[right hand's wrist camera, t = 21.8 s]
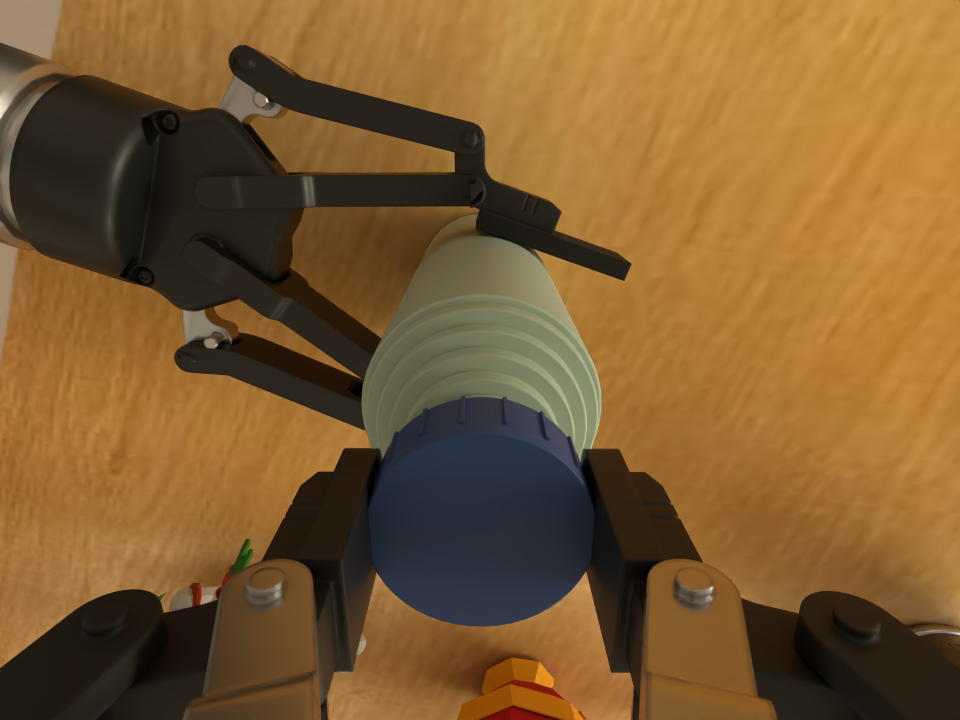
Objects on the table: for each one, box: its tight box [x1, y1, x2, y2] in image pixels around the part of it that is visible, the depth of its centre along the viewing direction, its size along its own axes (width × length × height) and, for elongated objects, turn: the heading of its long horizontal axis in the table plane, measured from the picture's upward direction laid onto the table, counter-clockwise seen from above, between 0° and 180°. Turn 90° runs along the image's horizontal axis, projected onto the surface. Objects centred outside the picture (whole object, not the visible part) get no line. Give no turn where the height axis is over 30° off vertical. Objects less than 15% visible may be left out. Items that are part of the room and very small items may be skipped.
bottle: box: [362, 214, 601, 463], centre depth 22 cm, size 6×6×22 cm
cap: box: [368, 396, 595, 626], centre depth 12 cm, size 4×4×2 cm
